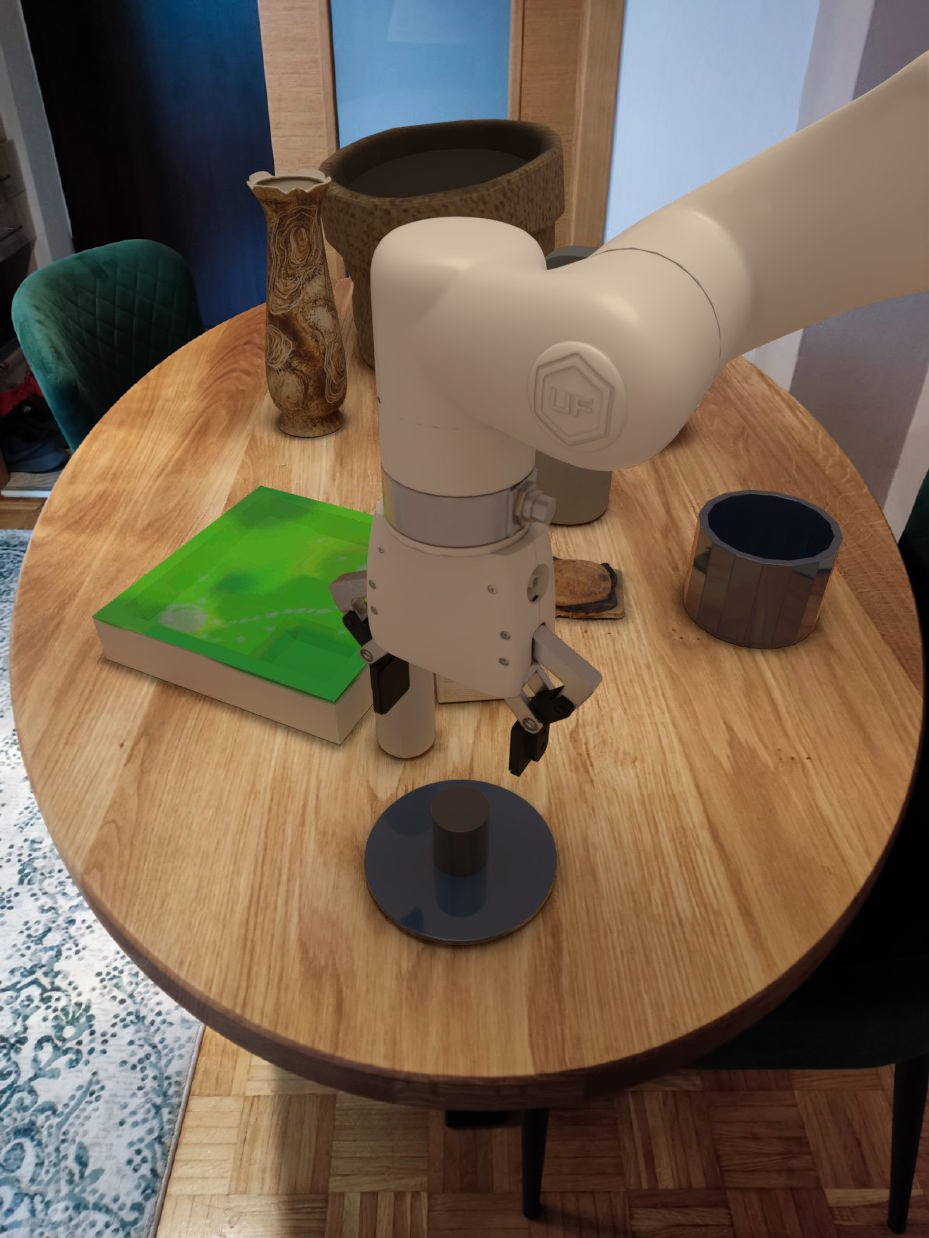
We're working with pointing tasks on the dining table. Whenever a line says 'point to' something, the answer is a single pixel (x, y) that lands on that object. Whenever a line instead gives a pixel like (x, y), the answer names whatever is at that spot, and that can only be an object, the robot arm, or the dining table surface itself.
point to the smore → (587, 589)
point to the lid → (460, 862)
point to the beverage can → (410, 718)
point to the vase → (300, 305)
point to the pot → (438, 189)
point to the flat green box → (254, 614)
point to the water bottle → (570, 485)
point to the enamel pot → (760, 567)
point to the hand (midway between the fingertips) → (456, 729)
